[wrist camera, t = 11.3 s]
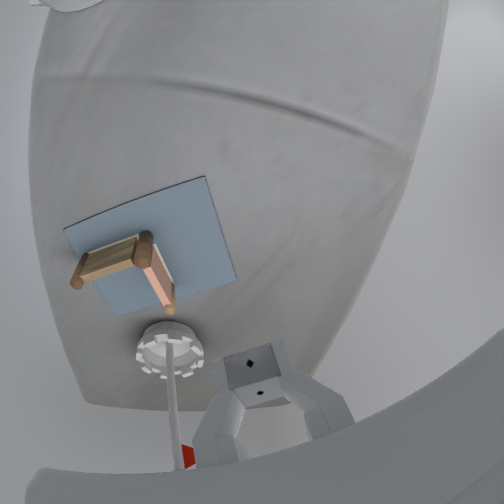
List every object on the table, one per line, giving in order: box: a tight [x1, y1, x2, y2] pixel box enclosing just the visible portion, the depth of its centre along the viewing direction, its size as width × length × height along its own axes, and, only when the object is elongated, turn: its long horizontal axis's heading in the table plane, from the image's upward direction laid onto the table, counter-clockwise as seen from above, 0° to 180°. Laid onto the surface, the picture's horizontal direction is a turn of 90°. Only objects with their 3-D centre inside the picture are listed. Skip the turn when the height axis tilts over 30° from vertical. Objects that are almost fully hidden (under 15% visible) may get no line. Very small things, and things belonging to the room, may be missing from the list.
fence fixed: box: [70, 231, 153, 290], centre depth 37 cm, size 2×13×7 cm, turn 102°
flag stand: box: [136, 321, 204, 471], centre depth 41 cm, size 13×13×30 cm
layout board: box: [63, 176, 237, 316], centre depth 42 cm, size 19×24×1 cm
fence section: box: [143, 246, 176, 315], centre depth 41 cm, size 2×9×6 cm, turn 12°
